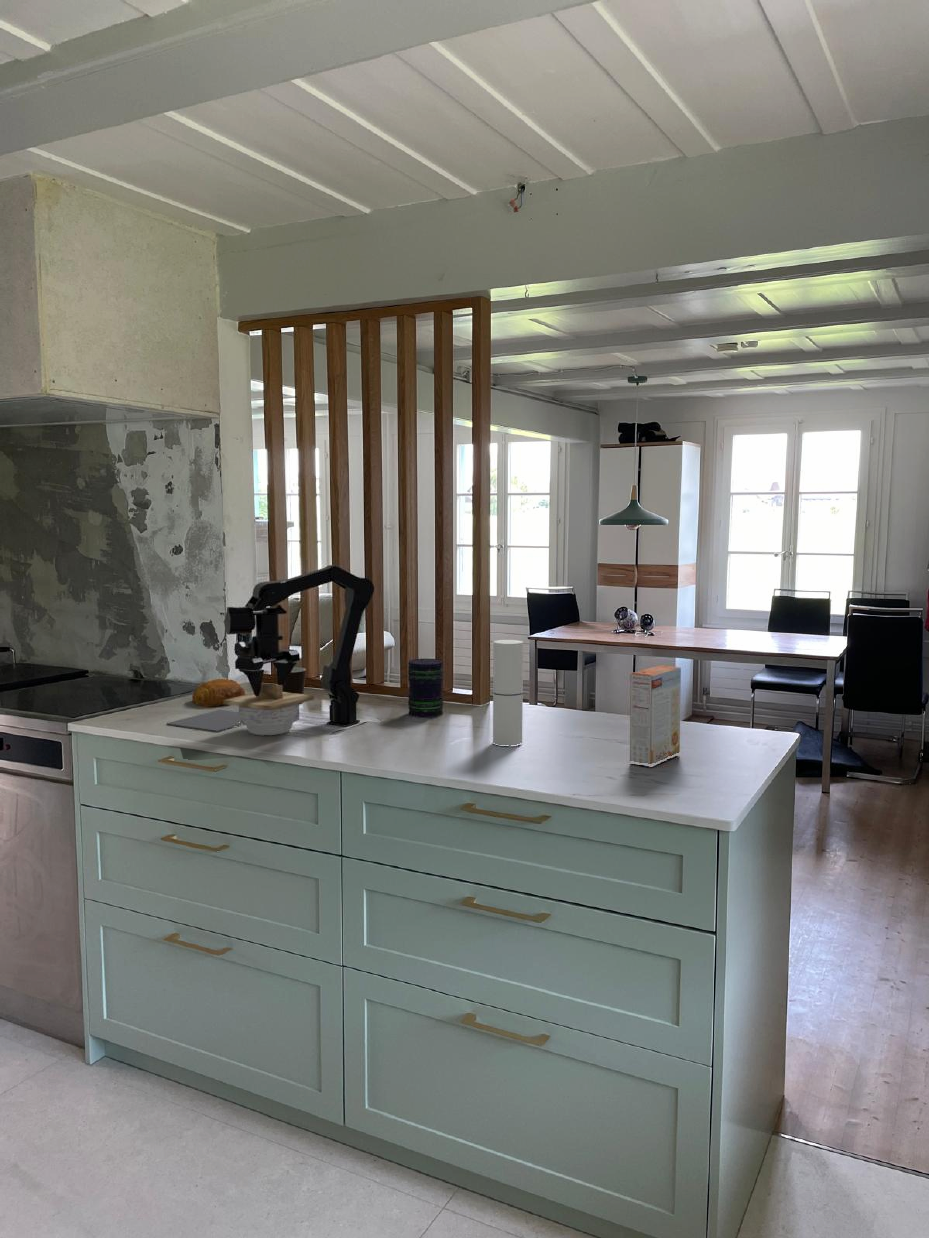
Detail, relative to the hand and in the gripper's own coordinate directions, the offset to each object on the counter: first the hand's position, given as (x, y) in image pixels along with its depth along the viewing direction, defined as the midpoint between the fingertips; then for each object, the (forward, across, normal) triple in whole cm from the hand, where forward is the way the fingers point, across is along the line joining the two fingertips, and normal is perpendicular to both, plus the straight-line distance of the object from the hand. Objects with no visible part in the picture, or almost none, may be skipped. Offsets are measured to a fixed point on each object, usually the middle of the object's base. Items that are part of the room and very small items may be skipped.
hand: (269, 692), depth 237 cm
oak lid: (+2, 0, 0) cm, 2 cm away
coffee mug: (+10, -33, -19) cm, 39 cm away
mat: (+10, -3, -20) cm, 23 cm away
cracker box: (+10, -20, +95) cm, 98 cm away
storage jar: (+10, -38, +24) cm, 46 cm away
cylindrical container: (+10, -18, +59) cm, 63 cm away
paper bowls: (+10, 0, 0) cm, 10 cm away
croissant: (+10, -23, -39) cm, 46 cm away
